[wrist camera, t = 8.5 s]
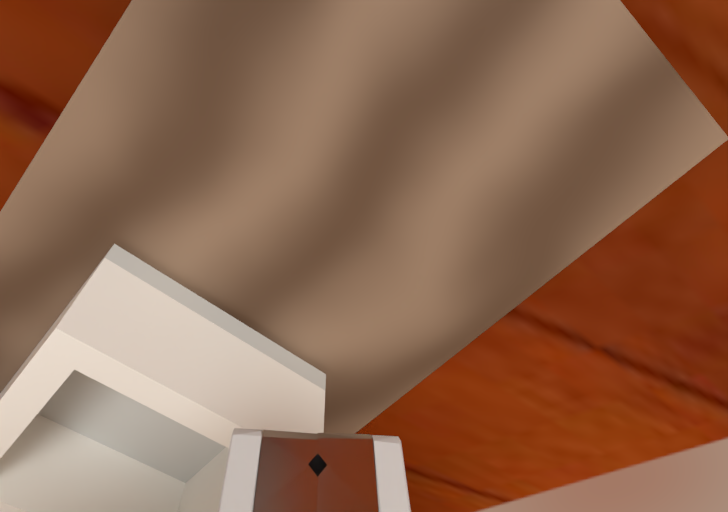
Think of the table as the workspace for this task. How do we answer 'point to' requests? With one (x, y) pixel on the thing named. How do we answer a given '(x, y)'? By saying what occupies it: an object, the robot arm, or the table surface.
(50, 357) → the frame
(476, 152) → the board
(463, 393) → the table surface
